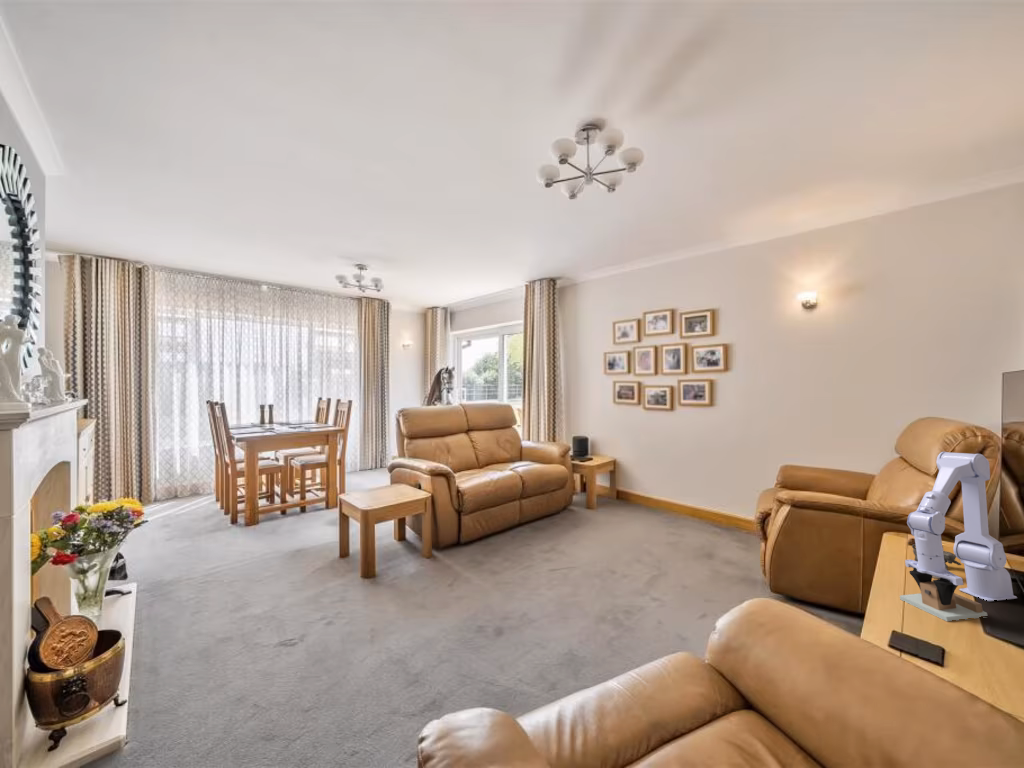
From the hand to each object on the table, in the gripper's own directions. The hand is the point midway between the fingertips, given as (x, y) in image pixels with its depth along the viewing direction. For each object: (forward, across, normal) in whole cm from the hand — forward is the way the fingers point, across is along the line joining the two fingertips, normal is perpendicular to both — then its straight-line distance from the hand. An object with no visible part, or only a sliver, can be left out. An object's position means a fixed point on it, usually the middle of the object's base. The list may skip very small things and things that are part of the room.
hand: (936, 600), depth 122 cm
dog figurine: (+3, -26, +29) cm, 39 cm away
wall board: (+3, -1, +2) cm, 3 cm away
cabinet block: (+2, 0, 0) cm, 2 cm away
